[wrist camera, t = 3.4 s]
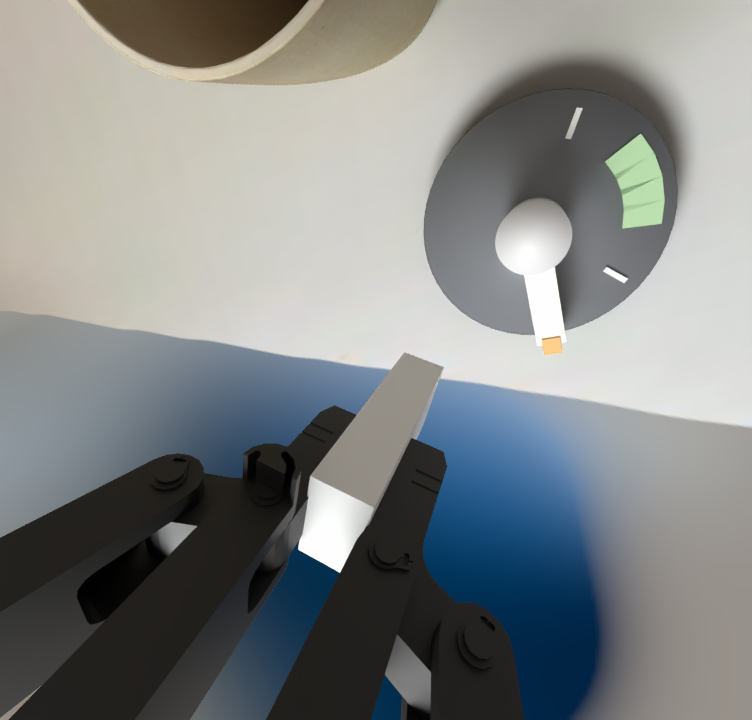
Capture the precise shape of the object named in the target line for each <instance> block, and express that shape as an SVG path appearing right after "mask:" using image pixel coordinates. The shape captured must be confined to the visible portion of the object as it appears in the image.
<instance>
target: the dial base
mask: <svg viewBox="0 0 752 720" xmlns="http://www.w3.org/2000/svg"><path fill="white" fill-rule="evenodd" d="M535 197H544V198H548V199H551V200H553V201H555V202H556V203H558V204H559V205H560V206H561V207H562V209H563V210H564V212H565V213H566V215H567V217H568V218H569V220H570V223H571V227H572V241H571V245H570V248H569V250H568V252H567V254H566V255H565V257H564V258H563V259H562V261H561V262H560V263H559V264H557V265H556V266H555V272H556V278H557V284H558V291H559V297H560V303H561V310H562V316H563V322H564V329H565V330H569V329H572V328H575V327H578V326H581V325H584V324H586V323H588V322H590V321H592V320H595V319H597V318H598V317H600V316H602V315H603V314H605V313H607V312H609V311H610V310H612V309H613V308H614V307H616V306H617V305H618V304H620V303H621V302H622V301H624V300H625V299H626V298H627V297H628V296H629V295H630V294H631V293H633V292H634V291H635V290H636V289H637V288H638V287H639V286H640V284H641V283H642V282H643V281H644V280H645V278H646V277H647V276H648V275H649V274H650V272H651V271H652V269H653V268H654V266H655V265H656V263H657V262H658V260H659V258H660V256H661V254H662V252H663V250H664V248H665V246H666V244H667V242H668V239H669V236H670V233H671V230H672V227H673V224H674V219H675V214H676V208H677V180H676V173H675V168H674V164H673V161H672V158H671V155H670V152H669V150H668V148H667V146H666V144H665V142H664V140H663V138H662V136H661V135H660V134H659V132H658V131H657V130H656V129H655V127H654V126H653V125H652V123H651V122H650V121H649V120H648V119H647V118H645V117H644V116H643V115H642V114H641V113H640V112H639V111H638V110H636V109H635V108H633V107H631V106H630V105H628V104H626V103H625V102H623V101H621V100H619V99H616V98H614V97H611V96H609V95H606V94H603V93H599V92H594V91H589V90H581V89H559V90H548V91H544V92H540V93H536V94H531V95H528V96H525V97H523V98H520V99H517V100H515V101H512V102H510V103H508V104H506V105H505V106H503V107H501V108H499V109H497V110H495V111H494V112H492V113H491V114H489V115H488V116H487V117H485V118H484V119H482V120H481V121H480V122H478V123H477V124H476V125H475V126H474V127H473V128H472V129H470V130H469V131H468V132H467V133H466V134H465V135H464V136H463V137H462V139H461V140H460V141H459V142H458V143H457V144H456V145H455V146H454V148H453V149H452V151H451V152H450V153H449V155H448V156H447V158H446V159H445V161H444V162H443V164H442V166H441V168H440V170H439V171H438V173H437V175H436V178H435V180H434V183H433V185H432V187H431V190H430V194H429V197H428V201H427V204H426V210H425V217H424V244H425V250H426V255H427V260H428V263H429V266H430V269H431V272H432V274H433V276H434V278H435V280H436V282H437V284H438V285H439V287H440V288H441V290H442V291H443V293H444V294H445V295H446V297H447V298H448V299H449V300H450V301H451V302H452V304H454V305H455V306H456V307H457V308H458V309H459V310H460V311H461V312H463V313H464V314H466V315H467V316H468V317H470V318H471V319H473V320H475V321H477V322H479V323H481V324H482V325H485V326H487V327H490V328H493V329H495V330H499V331H503V332H507V333H513V334H521V335H535V332H534V326H533V321H532V316H531V310H530V305H529V299H528V294H527V289H526V283H525V278H524V275H521V274H517V273H514V272H512V271H511V270H509V269H508V268H506V267H505V266H504V265H503V264H502V262H501V261H500V259H499V257H498V255H497V252H496V247H495V239H496V234H497V230H498V228H499V226H500V224H501V222H502V221H503V219H504V218H505V217H506V216H507V215H508V214H509V212H510V211H511V210H512V209H513V208H514V207H515V206H516V205H518V204H519V203H521V202H523V201H524V200H527V199H530V198H535Z"/></svg>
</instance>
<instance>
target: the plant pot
mask: <svg viewBox="0 0 752 720" xmlns="http://www.w3.org/2000/svg"><path fill="white" fill-rule="evenodd" d="M67 1H68V2H69V3H70V5H71V6H72V7H73V8H74V10H75V11H76V12H77V13H78V14H79V15H80V16H81V18H82V19H83V20H84V21H85V22H86V23H87V24H88V25H89V26H90V27H91V28H92V29H93V30H94V31H95V32H96V33H97V34H98V35H99V36H100V37H101V38H102V39H103V40H104V41H106V42H107V43H108V44H109V45H110V46H112V47H113V48H114V49H115V50H117V51H118V52H119V53H121V54H122V55H124V56H125V57H127V58H128V59H130V60H131V61H133V62H134V63H136V64H137V65H139V66H141V67H143V68H145V69H148V70H150V71H152V72H154V73H156V74H159V75H162V76H165V77H169V78H174V79H178V80H184V81H195V82H209V83H224V84H249V85H297V84H309V83H317V82H324V81H330V80H335V79H340V78H345V77H349V76H352V75H356V74H359V73H362V72H365V71H368V70H370V69H373V68H375V67H377V66H380V65H382V64H383V63H385V62H387V61H389V60H391V59H392V58H394V57H395V56H397V55H398V54H400V53H401V52H402V51H404V50H405V49H406V48H407V47H408V46H409V45H410V44H411V43H412V42H413V41H414V40H415V39H416V38H417V37H418V35H419V34H420V33H421V31H422V30H423V28H424V26H425V25H426V23H427V21H428V19H429V17H430V15H431V13H432V10H433V8H434V6H435V3H436V0H67Z"/></svg>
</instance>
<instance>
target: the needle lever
mask: <svg viewBox="0 0 752 720" xmlns="http://www.w3.org/2000/svg"><path fill="white" fill-rule="evenodd" d="M571 241H572V227H571V223H570V220H569V218H568V217H567V215H566V213H565V212H564V210H563V209H562V207H561V206H560V205H559V204H558V203H556V202H555V201H553V200H551V199H548V198H544V197H535V198H530V199H527V200H524V201H523V202H521V203H519V204H518V205H516V206H515V207H514V208H513V209H512V210H511V211H510V212H509V214H508V215H507V216H506V217H505V218H504V219H503V221H502V222H501V224H500V226H499V228H498V230H497V234H496V239H495V247H496V252H497V255H498V257H499V259H500V261H501V262H502V264H503V265H504V266H505V267H506V268H508V269H509V270H511V271H512V272H514V273H517V274H521V275H524V278H525V283H526V289H527V294H528V299H529V305H530V310H531V316H532V321H533V326H534V332H535V337H536V342H537V346H543V351H544V355H549V354H556V353H562V345H561V343H564V342H566V335H565V329H564V322H563V316H562V310H561V303H560V297H559V291H558V284H557V278H556V272H555V266H556V265H557V264H559V263H560V262H561V261H562V259H563V258H564V257H565V255H566V254H567V252H568V250H569V248H570V245H571Z"/></svg>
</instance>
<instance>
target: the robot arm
mask: <svg viewBox="0 0 752 720" xmlns="http://www.w3.org/2000/svg"><path fill="white" fill-rule="evenodd" d="M443 368H444V367H442V366H439V365H436V364H434V363H431V362H428V361H426V360H423V359H420V358H418V357H415V356H413V355H410V354H407V353H404V354H403V355H402V356H401V358H400V359H399V360H398V362H397V363H396V364H395V366H394V367H393V368H392V370H391V371H390V372H389V374H388V375H387V376H386V377H385V379H384V380H383V381H382V383H381V384H380V385H379V387H378V388H377V389H376V391H375V392H374V393H373V394H372V396H371V397H370V398H369V400H368V401H367V402H366V404H365V405H364V406H363V407H362V409H361V410H360V412H359V413H358V414H357V415H355V414H353V413H351V412H348V411H346V410H344V409H342V408H339V407H337V406H333V407H330V408H328V409H326V410H324V411H321V412H320V413H319V414H318V415H317V416H316V417H315V418H314V419H313V420H312V422H311V423H310V425H308V426H307V427H306V428H305V429H304V430H303V432H302V433H301V434H299V435H298V437H297V438H296V439H295V440H294V441H293V442H292V443H291V444H290V445H289V446H288V447H286V446H283V445H279V444H262V445H259V446H255V447H252V448H251V449H250V450H248V451H246V452H245V453H244V454H243V478H229V477H223V476H217V475H211V474H206V473H204V468H203V466H202V464H201V463H200V461H199V460H197V459H196V458H194V457H192V456H190V455H185V454H172V455H165V456H162V457H160V458H157V459H154V460H152V461H150V462H148V463H146V464H144V465H142V466H140V467H138V468H136V469H135V470H133V471H130V472H129V473H127V474H125V475H123V476H121V477H119V478H117V479H115V480H113V481H111V482H109V483H107V484H105V485H103V486H101V487H99V488H97V489H96V490H93V491H91V492H89V493H87V494H85V495H84V496H81V497H79V498H77V499H76V500H74V501H72V502H70V503H68V504H66V505H64V506H62V507H60V508H58V509H56V510H54V511H52V512H50V513H48V514H46V515H44V516H42V517H40V518H38V519H36V520H34V521H32V522H30V523H29V524H26V525H25V526H23V527H21V528H19V529H17V530H15V531H13V532H11V533H9V534H7V535H5V536H3V537H1V538H0V717H2V716H3V715H4V714H5V713H7V712H8V711H9V710H11V709H12V708H13V707H14V706H16V705H17V704H18V703H19V702H21V701H22V700H23V699H25V698H26V697H27V696H28V695H30V694H31V693H32V692H33V691H35V690H36V689H37V688H39V687H40V686H41V685H42V684H43V685H42V686H41V687H40V688H39V689H38V690H37V691H36V692H35V693H34V694H33V695H32V696H31V697H30V698H29V699H28V701H26V702H25V703H24V704H23V705H22V707H20V708H19V710H18V711H17V712H16V713H15V714H14V715H13V716H12V717H11V718H10V719H9V720H190V718H191V717H192V715H193V713H194V712H195V711H196V709H197V707H198V706H199V704H200V703H201V701H202V700H203V698H204V697H205V695H206V693H207V692H208V690H209V689H210V687H211V686H212V684H213V682H214V681H215V679H216V678H217V676H218V675H219V673H220V672H221V670H222V668H223V667H224V665H225V664H226V662H227V661H228V659H229V657H230V656H231V654H232V653H233V651H234V650H235V648H236V646H237V645H238V643H239V642H240V640H241V639H242V637H243V635H244V634H245V632H246V631H247V629H248V628H249V626H250V625H251V623H252V622H253V620H254V618H255V617H256V615H257V614H258V612H259V611H260V609H261V607H262V606H263V604H264V603H265V601H266V600H267V598H268V596H269V595H270V593H271V592H272V590H273V589H274V587H275V586H276V584H277V582H278V581H279V579H280V577H281V576H282V575H283V573H284V571H285V569H286V566H287V564H288V561H289V554H290V553H291V551H292V550H293V548H294V547H295V545H296V544H297V542H298V541H299V539H300V542H299V548H298V549H299V550H300V551H302V552H304V553H305V554H307V555H309V556H311V557H313V558H315V559H316V560H318V561H320V562H322V563H324V564H326V565H327V566H329V567H331V568H333V569H334V570H336V571H338V572H340V574H339V576H338V578H337V580H336V582H335V584H334V586H333V588H332V590H331V592H330V594H329V596H328V598H327V600H326V602H325V604H324V606H323V608H322V610H321V612H320V614H319V616H318V618H317V620H316V622H315V624H314V626H313V628H312V630H311V631H310V633H309V635H308V638H307V640H306V641H305V644H304V645H303V647H302V649H301V651H300V653H299V655H298V657H297V660H296V661H295V663H294V665H293V667H292V670H291V672H290V673H289V675H288V677H287V679H286V681H285V683H284V686H283V687H282V689H281V691H280V693H279V695H278V697H277V699H276V701H275V704H274V705H273V707H272V709H271V711H270V713H269V715H268V717H267V719H266V720H371V717H372V713H373V710H374V707H375V703H376V701H377V697H378V694H379V691H380V688H381V685H382V681H383V678H384V675H386V677H387V678H388V679H389V680H390V682H391V683H392V684H393V685H394V686H395V687H396V689H397V690H398V691H399V692H400V694H401V695H402V709H401V710H402V711H401V720H524V717H523V710H522V705H521V697H520V691H519V684H518V678H517V671H516V665H515V658H514V653H513V649H512V646H511V643H510V640H509V636H508V635H507V633H506V632H505V630H504V628H503V627H502V625H501V624H500V622H499V621H498V620H497V619H496V618H495V617H494V616H493V615H492V614H491V613H490V612H489V611H488V610H487V609H485V608H483V607H480V606H478V605H476V604H474V603H462V602H460V603H458V604H457V603H456V602H455V601H454V600H453V599H452V598H451V597H450V596H449V595H448V594H446V592H445V591H444V590H443V589H442V588H441V587H439V585H438V584H437V583H436V582H435V581H434V579H433V578H432V577H431V575H430V573H429V572H428V570H427V568H426V565H425V562H424V559H423V550H422V549H423V543H424V538H425V535H426V532H427V529H428V525H429V522H430V519H431V516H432V513H433V510H434V506H435V503H436V500H437V497H438V493H439V490H440V487H441V484H442V481H443V478H444V474H445V471H446V468H447V465H446V461H445V456H444V452H443V451H440V450H438V449H436V448H434V447H431V446H429V445H426V444H424V443H422V442H420V441H417V440H416V439H417V437H418V435H419V432H420V430H421V428H422V426H423V424H424V421H425V418H426V415H427V412H428V410H429V407H430V404H431V401H432V399H433V396H434V393H435V390H436V387H437V385H438V382H439V379H440V376H441V374H442V371H443Z"/></svg>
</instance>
